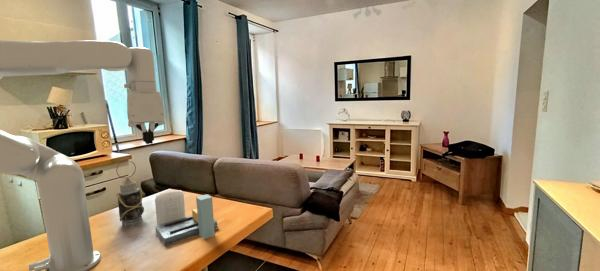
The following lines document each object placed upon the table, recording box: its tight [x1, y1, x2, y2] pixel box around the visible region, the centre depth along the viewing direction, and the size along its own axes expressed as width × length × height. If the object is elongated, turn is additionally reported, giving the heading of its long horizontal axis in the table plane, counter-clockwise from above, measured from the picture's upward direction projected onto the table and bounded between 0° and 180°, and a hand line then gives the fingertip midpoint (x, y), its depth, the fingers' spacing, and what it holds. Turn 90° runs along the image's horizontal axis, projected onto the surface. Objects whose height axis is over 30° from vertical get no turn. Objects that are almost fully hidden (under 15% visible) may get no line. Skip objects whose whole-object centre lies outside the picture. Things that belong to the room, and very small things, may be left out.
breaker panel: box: [155, 215, 219, 247], centre depth 100 cm, size 18×12×3 cm, turn 130°
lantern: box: [115, 159, 145, 228], centre depth 106 cm, size 9×8×25 cm
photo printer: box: [154, 189, 186, 226], centre depth 108 cm, size 10×4×12 cm, turn 123°
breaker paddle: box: [191, 207, 198, 223], centre depth 103 cm, size 3×5×4 cm, turn 40°
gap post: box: [195, 193, 216, 240], centre depth 96 cm, size 4×4×14 cm
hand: (148, 143), depth 92 cm, fingers closed
